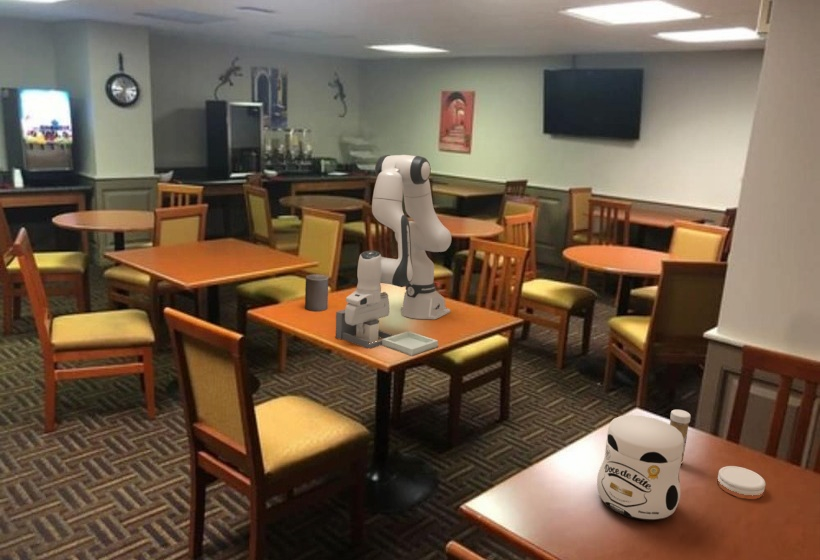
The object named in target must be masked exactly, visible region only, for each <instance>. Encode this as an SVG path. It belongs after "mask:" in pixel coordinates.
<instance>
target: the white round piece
mask: <svg viewBox="0 0 820 560" xmlns="http://www.w3.org/2000/svg"><path fill="white" fill-rule="evenodd" d="M717 479H718V481H719V482H720V484H721V485H723V486H724V487H726V488H727V489H729V490H731V491H734V492H737V493H739V494H744V495H752V496H753V495H760V494H762V493H763V492H764V493H765V487H766V481H765V479H764V478H763V477H762V476H761V474H758V473H757V472H755V471H753V470H751V469H748V468H745V467H742V466H741V467H740V466H735V465H727V466H723V467H721V468H720V469H719V470H718V475H717Z"/></svg>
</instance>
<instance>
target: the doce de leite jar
mask: <svg viewBox="0 0 820 560" xmlns="http://www.w3.org/2000/svg"><path fill="white" fill-rule="evenodd" d="M606 434H607V435H606V437H607V439H606V443H605V452H604V458H603V461H602V462H601V465H600V467H599V469H598V473H597V480H596V481H597V483H596V486H597V493H598V496H599V497H600V499H601V500H602V502H603V503H604V504H605V505H606V506H607V507H609V508H610V509H612V510H613V511H614V512H616V513H618V514H620V513H621V515H623V516H624V515H625V516H624V517H626V518H630V519H631V518H632V519H635V520H638V521H649V522H650V521H652V522H653V521H658V520H659V521H660V520H665V519H667V518H669V517H670V516H672V515H673V514H674V513H675V511H676V509H677V508H678V506H679V505H678V504H679V502H680V499H681V490H682V489H681V484H680V469H681V466H682V465H681V460H682V452H683V444H684V440H683V436H682V433H681V432H680V431H679V430H678V429H676V428H675V427H674V426H672V425H670V423H668V422H666V421H663V420H660V419H658V418H654V417H649V416H645V415H635V414H634V415H633V414H631V415H629V414H628V415H621V416H618V417H615V418H613V419H612V420H611V421H610V423H609V425H608V430H607V432H606Z"/></svg>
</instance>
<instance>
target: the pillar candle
mask: <svg viewBox="0 0 820 560" xmlns="http://www.w3.org/2000/svg"><path fill="white" fill-rule="evenodd" d="M329 278H330V277H329V276H327V275H325V274H308V275H306V276H305V289H304V291H305V293H304V294H305V295H304V297H305V298H304V309H305V310H306V309H307V310H306V311H310V312H323V311H322V310H324V311H327V310H328V305H329V303H328V301H329ZM326 309H327V310H326Z"/></svg>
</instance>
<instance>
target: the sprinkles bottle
mask: <svg viewBox="0 0 820 560" xmlns="http://www.w3.org/2000/svg"><path fill="white" fill-rule="evenodd" d="M691 418H692V417H691V414H690V413H689V412H688V411H686V410H683V409H673V410H671V412H670V418H669V419H670V422H669V424H670V425H672V426H674V427H675V428H676V429H678V430H679V431H680V432H681V433H682V436H683V440H684V444H683V452H682V460H681V462H682V461H683V462H684V456H685V451H686V444H687V438H688V432H689V431H688V430H689V424H690V422H691Z"/></svg>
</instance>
